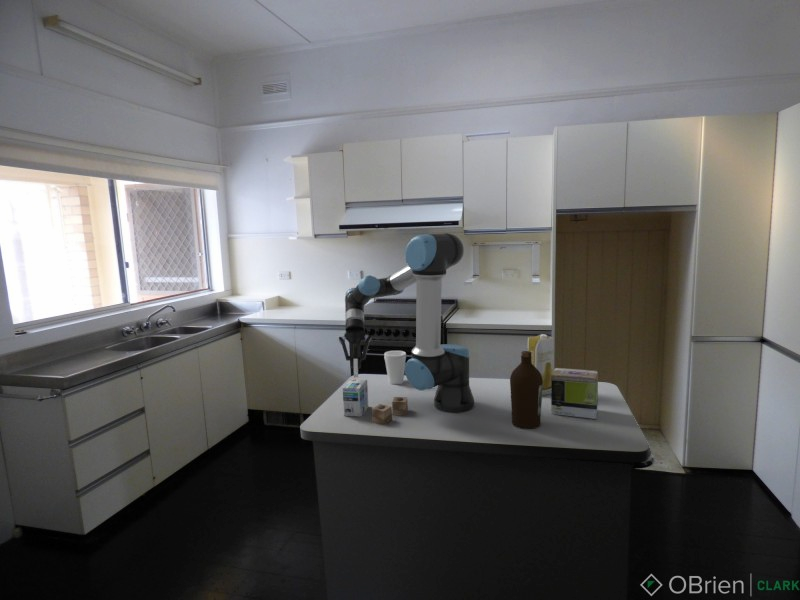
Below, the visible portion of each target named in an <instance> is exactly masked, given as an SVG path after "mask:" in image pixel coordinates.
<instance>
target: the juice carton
mask: <svg viewBox="0 0 800 600" xmlns="http://www.w3.org/2000/svg"><path fill="white" fill-rule="evenodd" d="M554 346H555V345H554V337H553V336H549V335H547V334H544V333H541V334H538V335H537V336H529V337H527V351H530V352H531V356H532V361H531V363H532V364H533V365H534V366H535V367H536V368H537V370H538V371H539V372H540V373H541V375H542V379H543V388H542V397H543V396H546V395H551V375H552V373H553V371H554Z"/></svg>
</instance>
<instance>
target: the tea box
mask: <svg viewBox="0 0 800 600" xmlns="http://www.w3.org/2000/svg"><path fill="white" fill-rule="evenodd" d="M550 395H551V397H550V398H551V399H550V400H551V401H550V404H551V405H550V406H551V410H550V411H551V415H559V416H565V417H566V416H567V417H568V416H569V417H576V418H585V419H593V420H597V415H598V414H597V413H598V408H599V405H598V402H599V399H598V398H599V371H598V370H594V369H593V370H590V369H589V370H588V369H580V368H579V369H578V368H577V369H575V368H563V367H562V368H561V367H554V368H553V373H552V375H551V393H550Z"/></svg>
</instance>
